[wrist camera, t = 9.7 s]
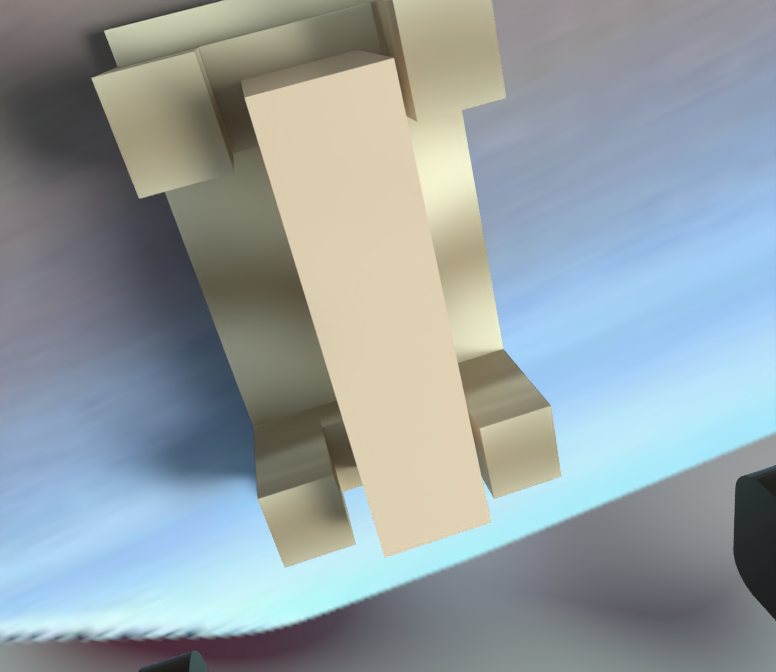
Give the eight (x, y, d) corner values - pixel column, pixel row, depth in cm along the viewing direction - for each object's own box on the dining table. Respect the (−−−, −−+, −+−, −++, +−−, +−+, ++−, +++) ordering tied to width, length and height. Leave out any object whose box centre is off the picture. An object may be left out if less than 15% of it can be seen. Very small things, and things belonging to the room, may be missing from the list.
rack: (109, 30, 21) (73, 33, 16) (425, -50, 22) (481, -70, 17) (281, 492, 29) (292, 588, 24) (509, 420, 30) (564, 498, 25)
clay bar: (240, 80, 20) (244, 97, 16) (357, 49, 21) (394, 57, 16) (358, 466, 26) (384, 557, 22) (446, 438, 27) (490, 522, 22)
